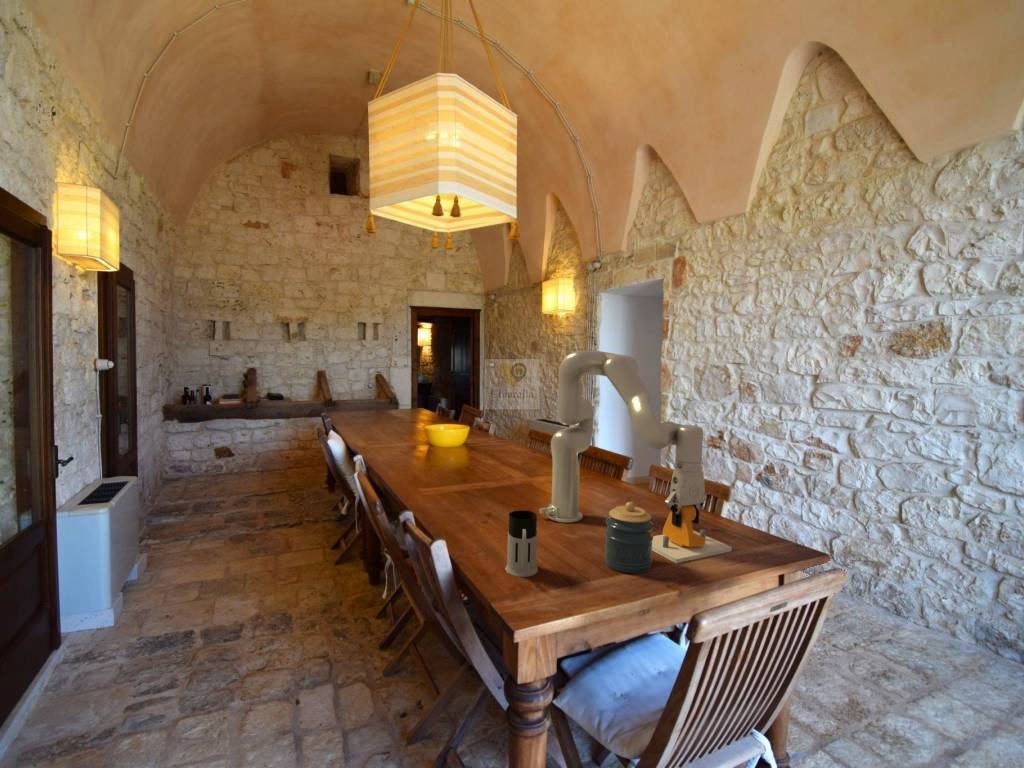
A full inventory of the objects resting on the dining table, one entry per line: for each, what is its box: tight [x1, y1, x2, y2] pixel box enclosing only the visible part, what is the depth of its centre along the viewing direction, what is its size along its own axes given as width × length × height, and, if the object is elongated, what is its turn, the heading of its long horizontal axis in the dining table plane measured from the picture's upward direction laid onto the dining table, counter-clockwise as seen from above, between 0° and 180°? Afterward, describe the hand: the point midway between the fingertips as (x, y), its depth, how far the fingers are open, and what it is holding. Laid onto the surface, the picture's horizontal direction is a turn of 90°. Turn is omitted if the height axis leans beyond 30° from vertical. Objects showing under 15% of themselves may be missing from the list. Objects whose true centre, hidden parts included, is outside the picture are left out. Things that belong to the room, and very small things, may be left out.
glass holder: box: [504, 509, 538, 578], centre depth 129 cm, size 9×14×15 cm, turn 2°
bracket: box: [662, 505, 706, 547], centre depth 149 cm, size 11×7×12 cm, turn 26°
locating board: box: [652, 528, 733, 564], centre depth 149 cm, size 22×16×4 cm
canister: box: [603, 501, 654, 574], centre depth 136 cm, size 13×13×18 cm
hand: (685, 523), depth 149 cm, fingers open, 6 cm apart
